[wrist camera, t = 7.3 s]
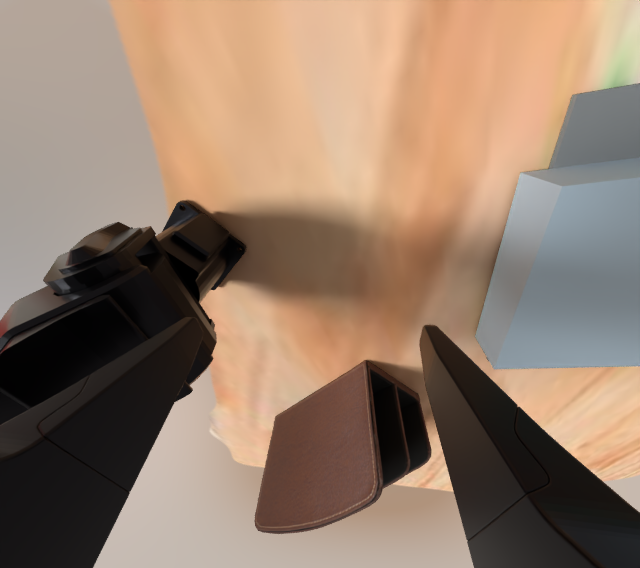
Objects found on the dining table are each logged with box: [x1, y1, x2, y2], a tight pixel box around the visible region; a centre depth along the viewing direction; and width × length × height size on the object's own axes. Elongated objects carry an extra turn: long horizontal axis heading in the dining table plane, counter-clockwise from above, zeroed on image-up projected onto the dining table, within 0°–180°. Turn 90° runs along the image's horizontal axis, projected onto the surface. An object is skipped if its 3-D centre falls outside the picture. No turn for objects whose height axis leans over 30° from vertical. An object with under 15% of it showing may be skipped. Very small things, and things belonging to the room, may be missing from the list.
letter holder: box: [255, 360, 431, 534], centre depth 30 cm, size 10×20×14 cm, turn 140°
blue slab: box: [475, 157, 640, 369], centre depth 19 cm, size 4×16×12 cm
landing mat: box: [487, 83, 640, 361], centre depth 20 cm, size 16×24×1 cm, turn 9°
